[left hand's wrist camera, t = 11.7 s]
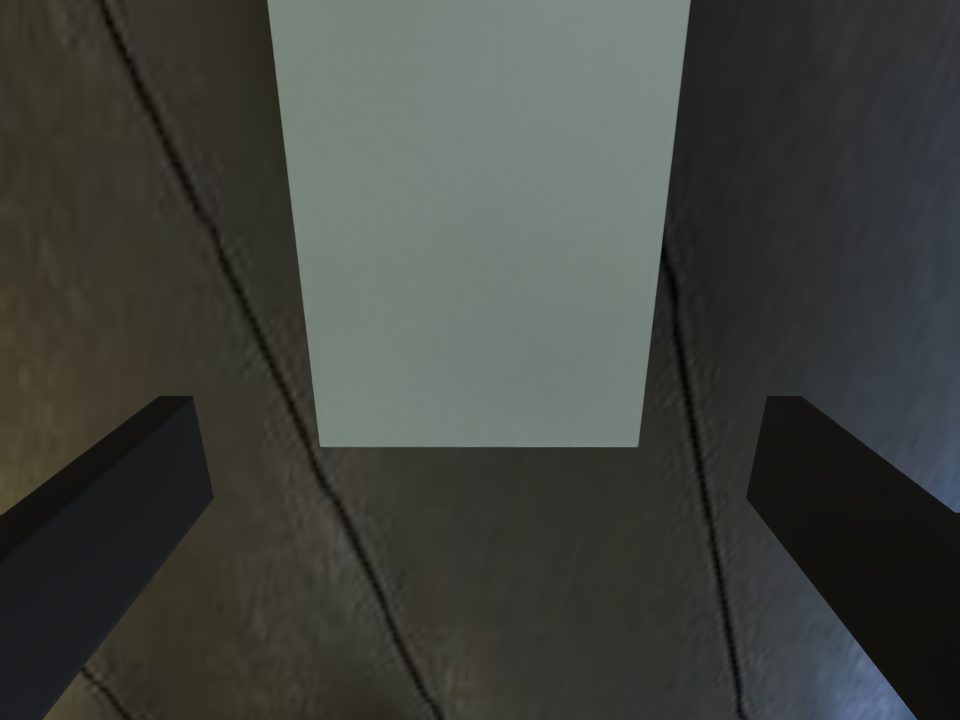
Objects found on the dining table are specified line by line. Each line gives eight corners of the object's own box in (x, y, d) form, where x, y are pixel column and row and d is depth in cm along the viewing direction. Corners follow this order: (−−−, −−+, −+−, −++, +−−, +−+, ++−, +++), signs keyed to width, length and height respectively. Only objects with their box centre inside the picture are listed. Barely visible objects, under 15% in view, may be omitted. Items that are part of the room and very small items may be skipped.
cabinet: (345, -41, 23) (244, -189, 13) (612, -41, 23) (713, -189, 13) (374, 347, 29) (319, 447, 19) (584, 347, 29) (638, 447, 19)
